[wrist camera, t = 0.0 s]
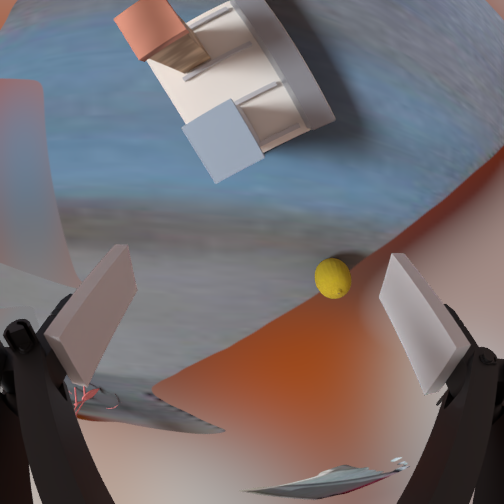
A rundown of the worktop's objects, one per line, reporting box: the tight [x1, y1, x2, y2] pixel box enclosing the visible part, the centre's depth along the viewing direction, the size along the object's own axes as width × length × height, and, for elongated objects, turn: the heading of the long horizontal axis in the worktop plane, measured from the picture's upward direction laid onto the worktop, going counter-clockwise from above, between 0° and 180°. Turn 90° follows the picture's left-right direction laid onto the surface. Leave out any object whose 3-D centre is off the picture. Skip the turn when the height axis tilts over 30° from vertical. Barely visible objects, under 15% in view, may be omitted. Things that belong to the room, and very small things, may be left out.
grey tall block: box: [181, 98, 265, 184], centre depth 28 cm, size 5×6×15 cm
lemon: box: [315, 258, 351, 299], centre depth 42 cm, size 6×6×8 cm
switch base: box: [146, 0, 336, 153], centre depth 30 cm, size 18×22×6 cm
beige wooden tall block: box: [114, 0, 211, 74], centre depth 23 cm, size 5×6×15 cm
